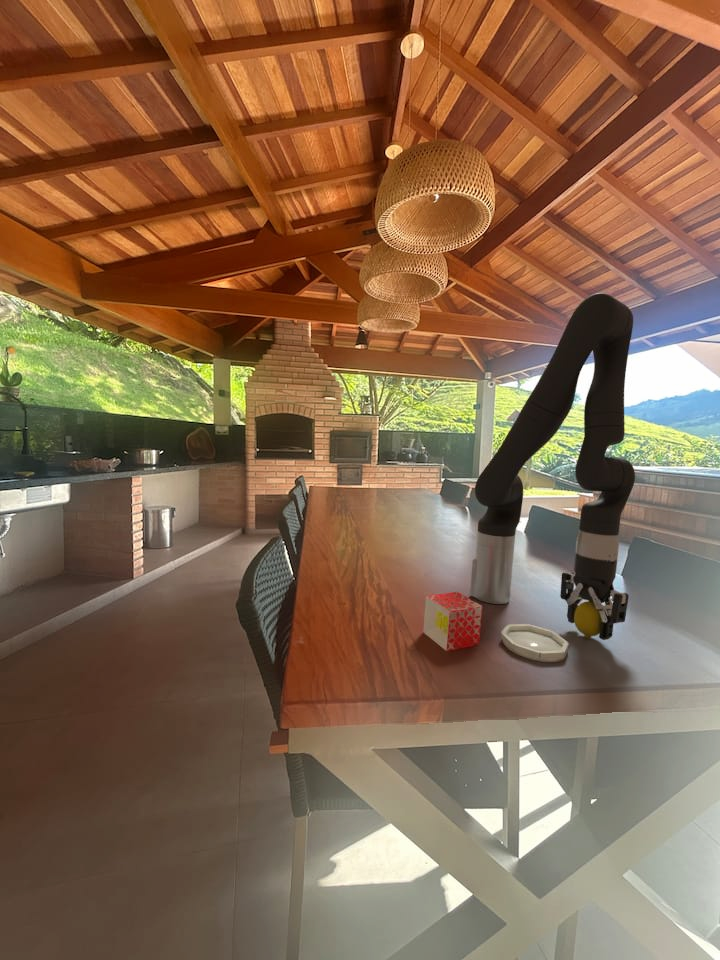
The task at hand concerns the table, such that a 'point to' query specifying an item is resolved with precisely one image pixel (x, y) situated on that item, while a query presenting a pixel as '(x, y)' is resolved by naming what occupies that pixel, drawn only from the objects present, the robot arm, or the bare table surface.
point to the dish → (534, 642)
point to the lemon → (587, 619)
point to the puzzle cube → (452, 620)
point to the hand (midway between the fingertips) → (588, 630)
